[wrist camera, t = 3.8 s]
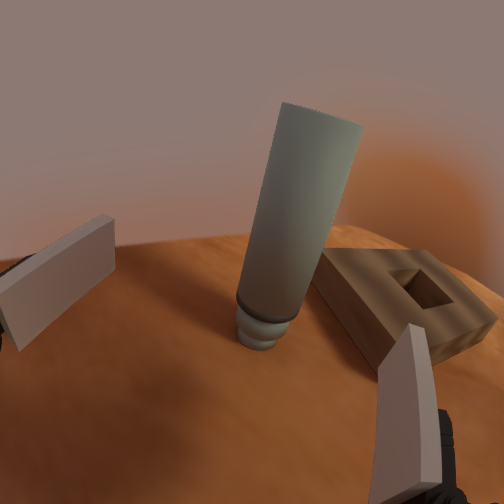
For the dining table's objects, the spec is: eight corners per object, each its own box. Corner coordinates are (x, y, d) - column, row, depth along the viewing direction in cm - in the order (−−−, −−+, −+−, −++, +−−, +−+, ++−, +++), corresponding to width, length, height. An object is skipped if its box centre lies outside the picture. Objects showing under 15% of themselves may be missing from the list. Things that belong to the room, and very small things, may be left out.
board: (415, 271, 37) (426, 250, 36) (482, 340, 26) (498, 318, 25) (307, 276, 31) (318, 247, 29) (383, 386, 20) (407, 356, 18)
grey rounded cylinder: (273, 313, 25) (334, 115, 17) (293, 353, 22) (380, 132, 13) (221, 317, 23) (269, 99, 15) (237, 361, 20) (306, 110, 12)
